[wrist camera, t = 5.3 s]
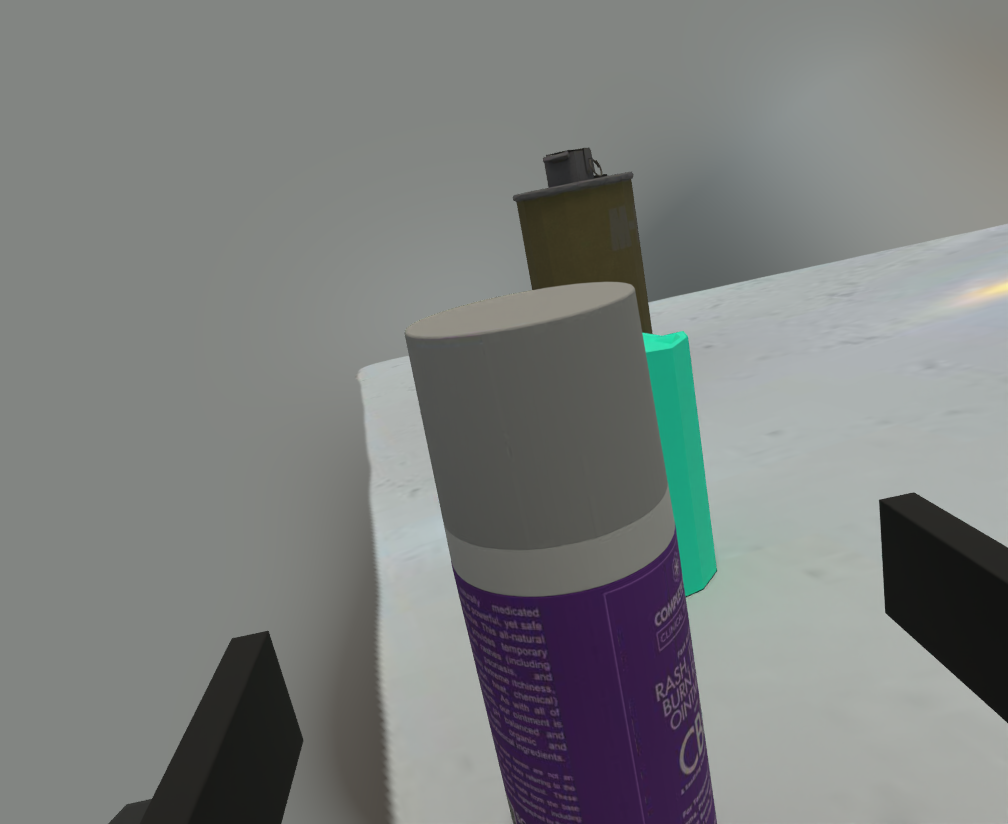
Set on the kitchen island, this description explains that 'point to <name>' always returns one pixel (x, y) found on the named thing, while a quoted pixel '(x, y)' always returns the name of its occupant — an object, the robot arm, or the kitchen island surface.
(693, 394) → the candle
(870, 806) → the kitchen island surface
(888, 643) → the kitchen island surface
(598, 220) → the canister
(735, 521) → the kitchen island surface
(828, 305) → the kitchen island surface
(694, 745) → the container
